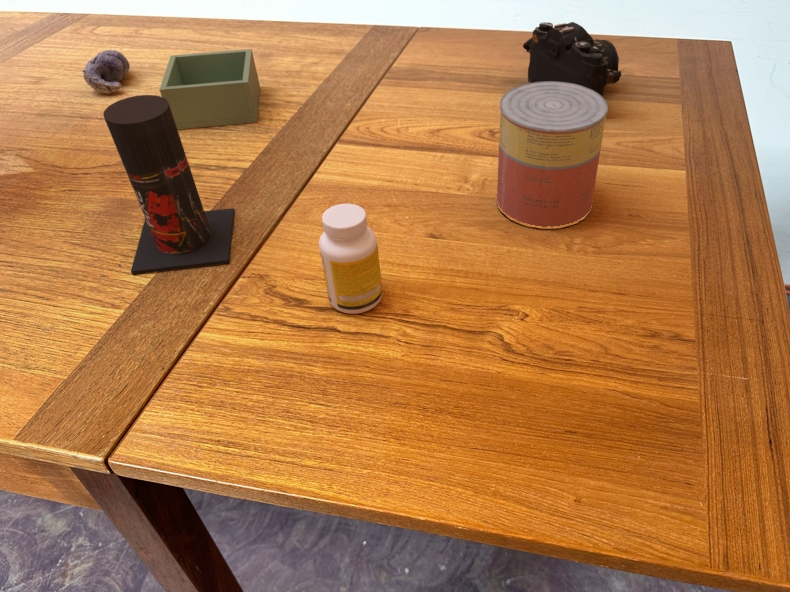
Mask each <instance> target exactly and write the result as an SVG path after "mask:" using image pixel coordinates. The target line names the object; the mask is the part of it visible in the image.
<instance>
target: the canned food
mask: <svg viewBox="0 0 790 592" xmlns="http://www.w3.org/2000/svg"><path fill="white" fill-rule="evenodd" d="M499 109H500V110H499V111H500V113H499V114H500V115H499V137H498V139H499V140H498V165H497V187H496V188H497V189H496V190H497V191H496V196H497V202H498V204H499V207H500V208H501V209H502V210H503V212H505V213H506V214H507V215H509V216H510V217H512V218H514V219H516V220H518V221H521V222H523V223H527V224H530V225H535V226H542V227H547V226H551V227H553V226H560V225H565V224H569V223H573V222H575V221H577V220H579V219H581V218H582V217H584V216H585V215H586V214H587V213H588V212H589V211H590V209H591V206H592V201H593V200H594V195H595V194H594V193H595V187H596V181H597V174H598V169H599V162H600V155H601V151H602V145H603V144H602V142H603V137H604V131H605V126H606V119H607V114H608V111H609V105H608V102H607V100H606V99H605V98H604V96H603V97H602V96H601V95H600V94H598V93H597V92H595V91H593V90H591V89H589V88H586V87H584V86H580V85H577V84H572V83H566V82H555V81H544V82H534V83H531V82H529V83H525V84H521V85H518V86H516V87H513V88H511V89H510V90H508V91H506V93H504V94H503V95H502V96H501V98H500V101H499ZM592 207H593V206H592Z"/></svg>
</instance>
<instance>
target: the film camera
mask: <svg viewBox="0 0 790 592" xmlns="http://www.w3.org/2000/svg"><path fill="white" fill-rule="evenodd" d="M522 47H523V49H524V50H525V51H526V53H529V63H528V66H527V67H528V68H527V81H528V82H529V83H534V82H544V81H555V82H566V83H572V84H577V85H580V86H584V87H586V88H589V89H591V90H593V91H595V92H597V93H598V94H600V95H601V96H602V97H603V98H604V89H605V87H606V86H607V85H610V84H616V83H617V82H619V81H620V80H621V77H622V71H621V70H619V63H620V57H619V55H618V51H617V49H616V46H615V45H614V44H613V42H611V41H610V40H608V39H597V38H595V39H594V38H593V36H592V35H591V34H589V33H588V31H587V30H586V29H585V28H584V27H583V26H581V25H580V24H578V23H576V22H574V21H571V22H568V23H566V22H565V23H564V22H563V23H558V24H553V23H552V22H540V23H539V25H538V26H536V27H535V28H534V29H533V30H532V37H530V38H529V39H527V40H526V41H524V43H523V44H522Z"/></svg>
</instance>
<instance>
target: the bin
mask: <svg viewBox="0 0 790 592" xmlns="http://www.w3.org/2000/svg"><path fill="white" fill-rule="evenodd" d="M159 93H160V97H163V98H165V99H166V100H167V101H168V103H169V106H170V109H171V112H172V115H173V118H174V121H175V124H176V127H177V130H178V131H179V130H186V129H187V130H188V129H189V130H190V129H197V128H208V127H218V126H219V127H220V126H230V125H240V124H251V123H258V121H259V120H258V119H259V106H260V94H261V85H260V79H259V76H258V71H257V67H256V62H255V57H254V52H253V49H252V48H246V49H245V48H244V49H233V50H222V51H211V52H210V51H209V52H196V53H186V54H185V53H184V54H172V55H170V56H169V59H168V63H167V65H166V67H165V71H164V75H163V78H162V81H161V84H160V86H159Z"/></svg>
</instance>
